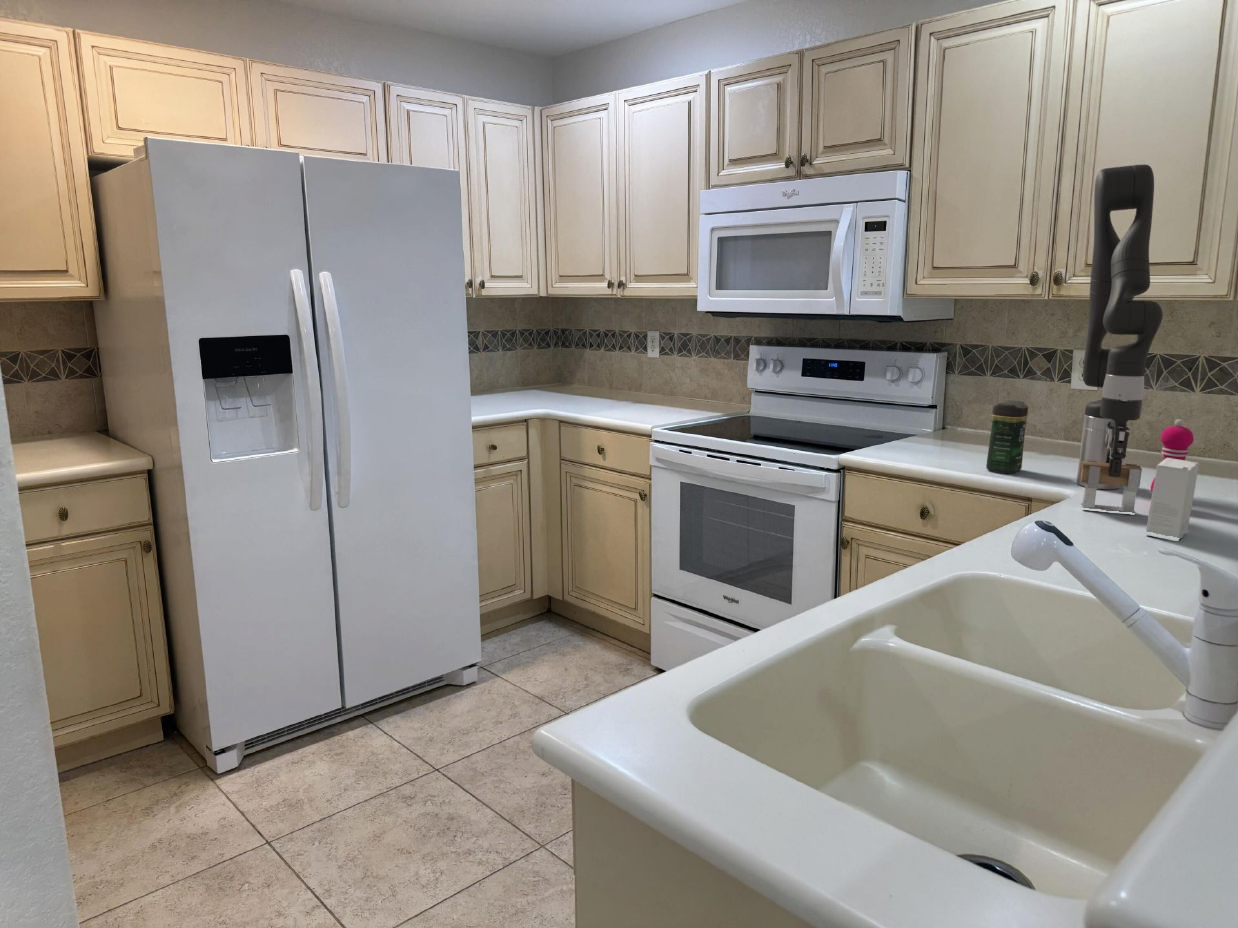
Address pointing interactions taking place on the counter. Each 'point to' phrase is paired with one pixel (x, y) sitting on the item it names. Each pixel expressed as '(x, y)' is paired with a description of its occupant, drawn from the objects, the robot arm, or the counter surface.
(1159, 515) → the skincare box
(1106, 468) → the rail
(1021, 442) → the coffee jar
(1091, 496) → the bracket
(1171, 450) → the pepper mill
